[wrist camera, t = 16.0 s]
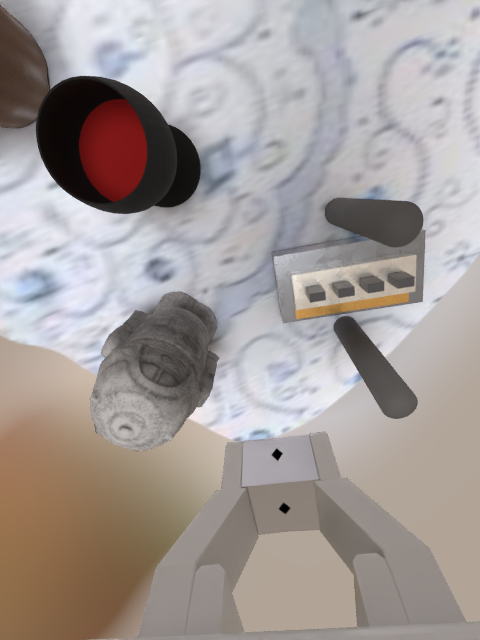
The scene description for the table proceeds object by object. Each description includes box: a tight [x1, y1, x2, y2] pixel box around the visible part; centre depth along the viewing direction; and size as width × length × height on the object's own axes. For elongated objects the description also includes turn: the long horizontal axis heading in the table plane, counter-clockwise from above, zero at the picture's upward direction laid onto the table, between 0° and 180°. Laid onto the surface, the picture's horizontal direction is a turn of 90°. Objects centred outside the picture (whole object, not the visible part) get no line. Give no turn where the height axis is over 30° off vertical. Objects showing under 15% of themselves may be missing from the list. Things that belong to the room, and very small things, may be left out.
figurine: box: [90, 292, 219, 451], centre depth 39 cm, size 10×14×25 cm
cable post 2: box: [334, 316, 418, 419], centre depth 40 cm, size 4×4×20 cm
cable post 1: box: [325, 198, 423, 248], centre depth 34 cm, size 4×4×20 cm
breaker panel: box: [272, 230, 425, 323], centre depth 44 cm, size 10×20×6 cm, turn 100°
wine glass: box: [36, 76, 200, 214], centre depth 33 cm, size 10×10×20 cm
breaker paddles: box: [306, 272, 415, 303], centre depth 39 cm, size 1×13×3 cm, turn 101°
